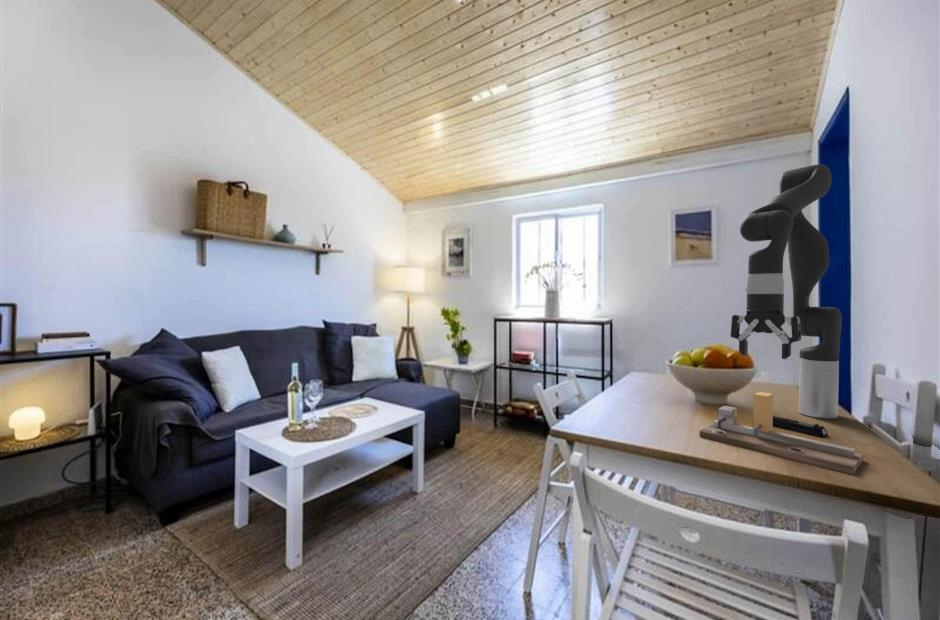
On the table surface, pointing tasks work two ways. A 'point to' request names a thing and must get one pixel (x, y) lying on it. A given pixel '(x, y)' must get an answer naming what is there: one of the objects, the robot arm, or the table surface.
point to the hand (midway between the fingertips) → (763, 356)
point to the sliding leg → (762, 412)
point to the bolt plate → (781, 443)
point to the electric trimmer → (800, 426)
